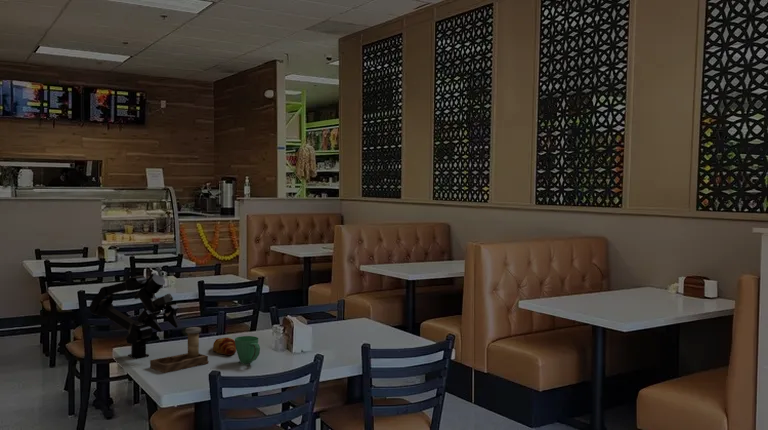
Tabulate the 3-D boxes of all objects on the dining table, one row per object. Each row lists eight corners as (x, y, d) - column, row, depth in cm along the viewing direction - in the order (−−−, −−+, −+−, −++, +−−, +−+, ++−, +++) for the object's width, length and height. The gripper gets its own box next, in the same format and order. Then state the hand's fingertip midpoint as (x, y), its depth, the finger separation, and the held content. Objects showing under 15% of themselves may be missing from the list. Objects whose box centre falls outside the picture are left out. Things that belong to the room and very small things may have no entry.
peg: (182, 359, 274) (183, 328, 273) (197, 357, 278) (197, 326, 277) (189, 363, 269) (189, 331, 269) (203, 360, 273) (203, 329, 273)
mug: (230, 361, 277) (230, 337, 277) (250, 357, 284) (251, 334, 283) (247, 369, 266) (247, 344, 266) (268, 365, 273) (268, 341, 272)
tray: (165, 373, 258) (165, 365, 258) (150, 367, 265) (150, 360, 265) (208, 363, 273) (208, 356, 273) (193, 358, 280) (193, 351, 280)
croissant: (211, 354, 301) (203, 340, 299) (229, 342, 306) (222, 328, 304) (227, 364, 284) (218, 349, 281) (246, 351, 288) (238, 336, 286)
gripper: (143, 291, 267) (163, 320, 263) (175, 285, 284) (195, 313, 280) (128, 308, 271) (148, 338, 267) (161, 301, 288) (180, 329, 284)
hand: (169, 329), depth 274 cm, fingers open, 9 cm apart
